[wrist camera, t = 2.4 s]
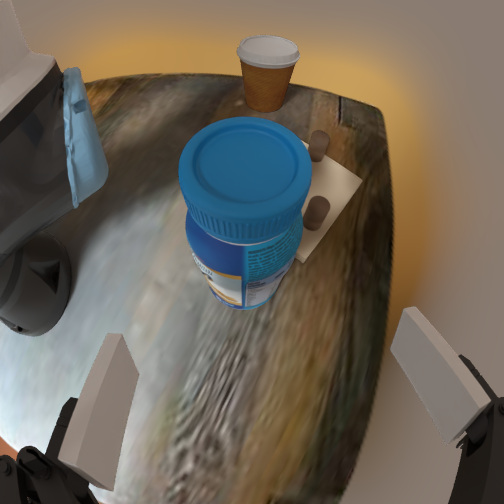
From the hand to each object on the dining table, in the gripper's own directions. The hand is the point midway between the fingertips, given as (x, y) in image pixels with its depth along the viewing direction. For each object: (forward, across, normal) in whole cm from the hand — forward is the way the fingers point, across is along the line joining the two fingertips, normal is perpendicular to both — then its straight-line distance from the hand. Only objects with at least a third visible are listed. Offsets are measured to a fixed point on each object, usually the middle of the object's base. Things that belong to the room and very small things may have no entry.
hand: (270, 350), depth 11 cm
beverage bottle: (+19, 0, -7) cm, 20 cm away
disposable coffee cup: (+40, +5, +15) cm, 44 cm away
